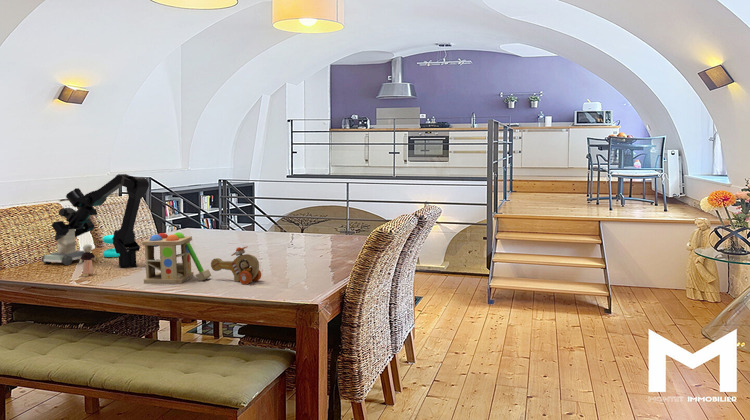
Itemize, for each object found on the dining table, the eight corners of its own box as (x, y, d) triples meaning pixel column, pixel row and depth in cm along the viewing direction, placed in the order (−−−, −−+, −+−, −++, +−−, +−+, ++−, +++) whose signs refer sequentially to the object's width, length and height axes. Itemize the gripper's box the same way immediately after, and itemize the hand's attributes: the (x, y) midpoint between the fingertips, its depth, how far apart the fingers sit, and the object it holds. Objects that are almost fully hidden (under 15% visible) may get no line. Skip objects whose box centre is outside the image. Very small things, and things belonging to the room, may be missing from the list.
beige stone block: (75, 256, 267) (74, 227, 265) (66, 257, 262) (65, 228, 261) (67, 255, 268) (65, 227, 267) (58, 257, 263) (56, 228, 262)
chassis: (70, 258, 275) (70, 249, 275) (93, 260, 271) (92, 250, 270) (41, 264, 260) (40, 254, 260) (64, 266, 256) (63, 255, 255)
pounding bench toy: (215, 276, 233) (214, 230, 231) (204, 283, 219) (202, 235, 217) (157, 276, 233) (156, 231, 232) (142, 283, 219) (140, 235, 218)
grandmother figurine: (86, 277, 231) (85, 245, 230) (78, 276, 232) (76, 244, 231) (99, 273, 239) (98, 242, 237) (91, 273, 239) (89, 242, 238)
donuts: (117, 233, 287) (129, 235, 282) (117, 254, 288) (130, 255, 282) (97, 236, 279) (110, 237, 273) (98, 257, 280) (111, 258, 274)
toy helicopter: (251, 285, 215) (251, 248, 213) (205, 281, 222) (204, 245, 221) (264, 281, 222) (263, 245, 221) (218, 277, 230) (218, 242, 229)
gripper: (88, 200, 270) (70, 223, 275) (53, 203, 253) (35, 228, 257) (102, 217, 268) (84, 241, 273) (68, 222, 251) (50, 246, 256)
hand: (64, 238), depth 265 cm, fingers open, 9 cm apart
